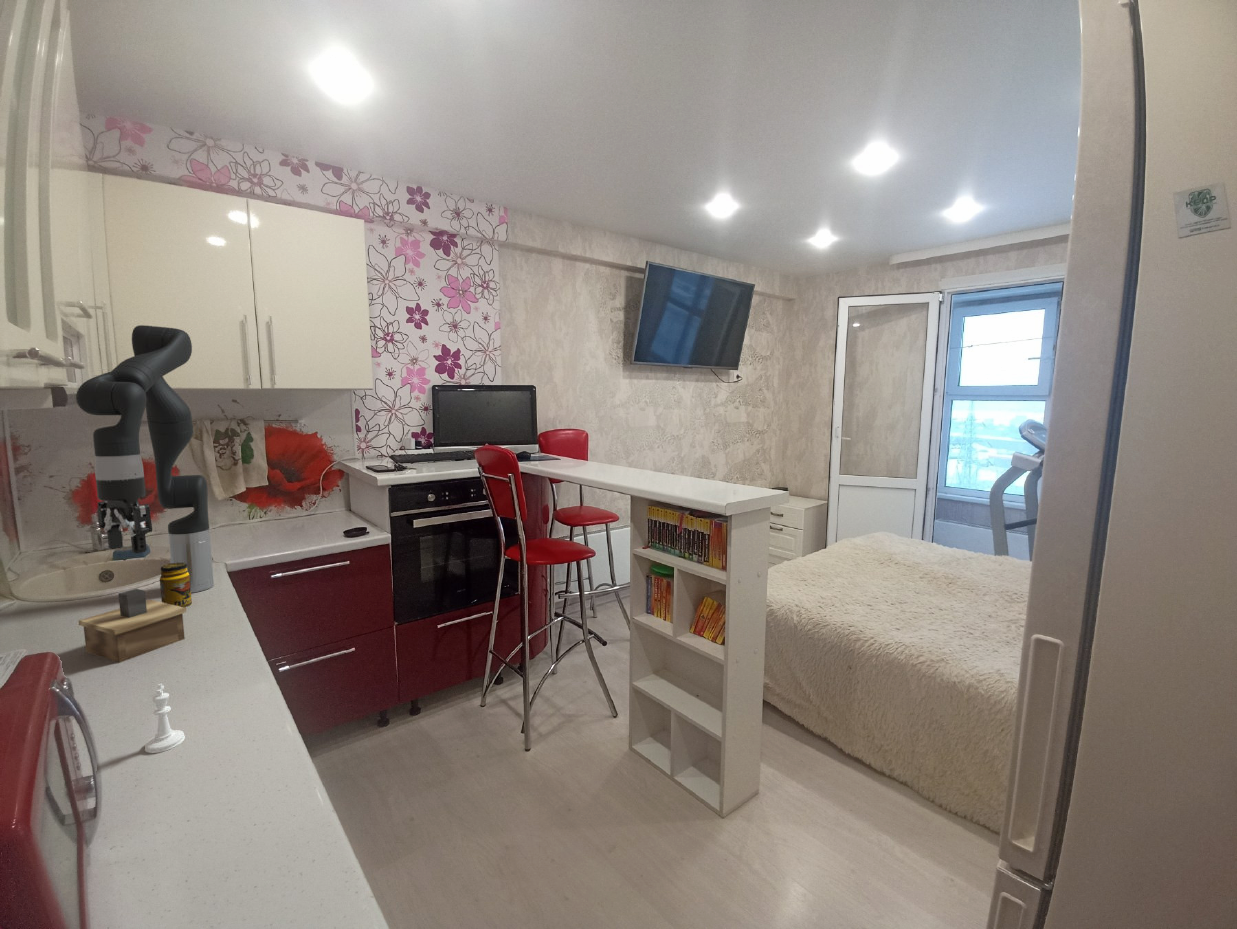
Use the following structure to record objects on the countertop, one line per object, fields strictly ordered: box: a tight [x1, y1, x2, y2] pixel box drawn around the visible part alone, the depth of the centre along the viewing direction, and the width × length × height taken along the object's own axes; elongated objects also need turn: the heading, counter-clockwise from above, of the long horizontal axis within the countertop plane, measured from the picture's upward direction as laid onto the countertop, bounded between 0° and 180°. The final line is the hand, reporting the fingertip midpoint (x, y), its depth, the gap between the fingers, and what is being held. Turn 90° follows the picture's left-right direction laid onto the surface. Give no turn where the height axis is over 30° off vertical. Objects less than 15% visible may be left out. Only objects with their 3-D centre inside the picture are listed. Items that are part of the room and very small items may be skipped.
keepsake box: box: [83, 613, 186, 664], centre depth 117 cm, size 12×12×7 cm
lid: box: [78, 588, 187, 635], centre depth 116 cm, size 13×13×7 cm
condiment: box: [159, 562, 193, 608], centre depth 139 cm, size 7×8×12 cm
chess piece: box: [144, 683, 186, 754], centre depth 85 cm, size 5×5×10 cm
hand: (127, 550), depth 115 cm, fingers open, 8 cm apart
